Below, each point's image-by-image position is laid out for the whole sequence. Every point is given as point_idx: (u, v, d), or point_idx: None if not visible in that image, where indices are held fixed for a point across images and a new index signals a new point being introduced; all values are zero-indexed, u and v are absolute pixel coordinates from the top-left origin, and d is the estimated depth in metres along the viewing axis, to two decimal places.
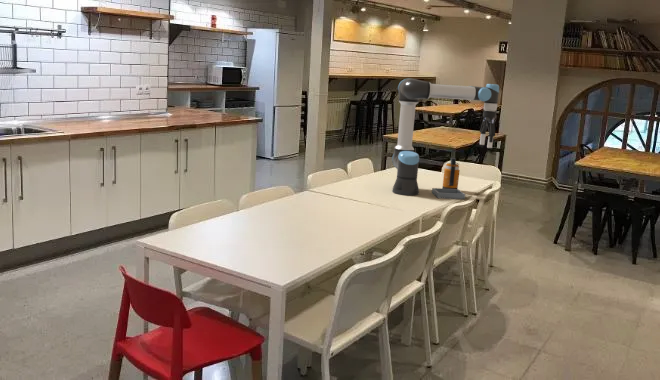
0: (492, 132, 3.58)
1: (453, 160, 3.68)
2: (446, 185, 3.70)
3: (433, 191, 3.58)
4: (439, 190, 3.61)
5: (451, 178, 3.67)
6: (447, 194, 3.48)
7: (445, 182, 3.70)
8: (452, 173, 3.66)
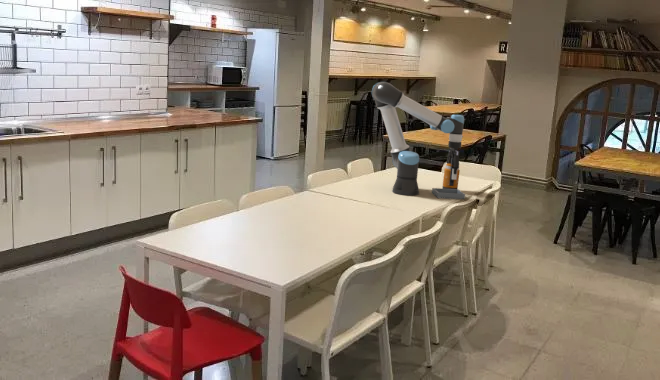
0: (456, 164, 3.61)
1: None
2: (446, 185, 3.70)
3: (433, 191, 3.58)
4: (439, 190, 3.61)
5: (451, 178, 3.67)
6: (447, 194, 3.48)
7: (445, 182, 3.70)
8: None
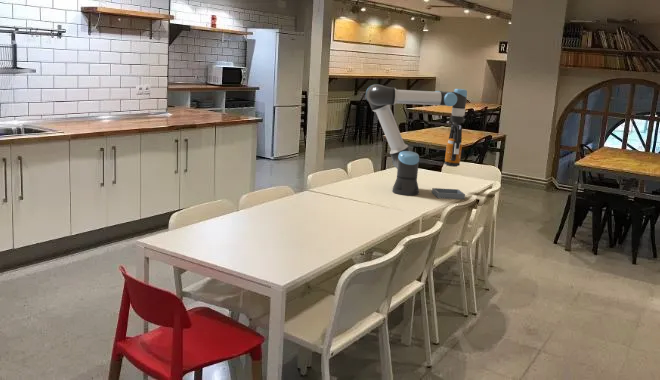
0: (458, 138, 3.58)
1: None
2: (448, 160, 3.66)
3: (433, 191, 3.58)
4: (439, 190, 3.61)
5: (453, 153, 3.64)
6: (447, 194, 3.48)
7: (447, 157, 3.67)
8: None
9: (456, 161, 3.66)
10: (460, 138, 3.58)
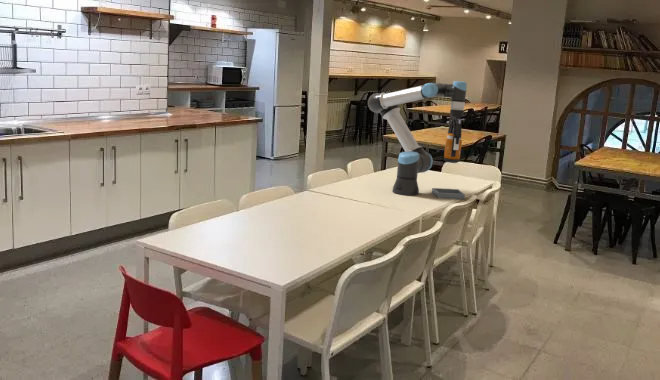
0: (458, 133, 3.40)
1: None
2: (448, 156, 3.49)
3: (433, 191, 3.58)
4: (439, 190, 3.61)
5: None
6: (447, 194, 3.48)
7: (447, 153, 3.49)
8: None
9: (456, 157, 3.48)
10: (460, 133, 3.40)
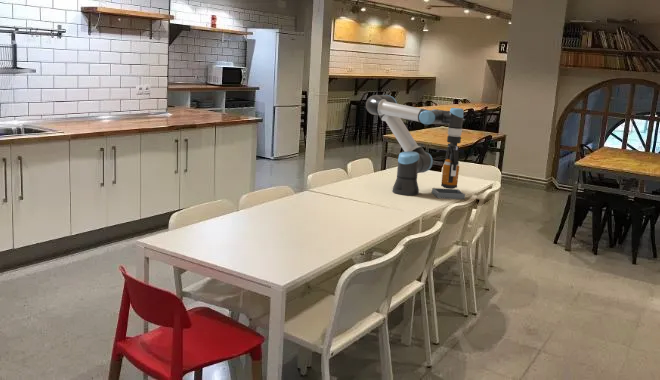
0: (455, 160, 3.43)
1: None
2: (445, 182, 3.51)
3: (433, 191, 3.58)
4: (439, 190, 3.61)
5: (450, 175, 3.49)
6: (447, 194, 3.48)
7: (444, 179, 3.52)
8: None
9: (453, 183, 3.51)
10: (457, 159, 3.43)
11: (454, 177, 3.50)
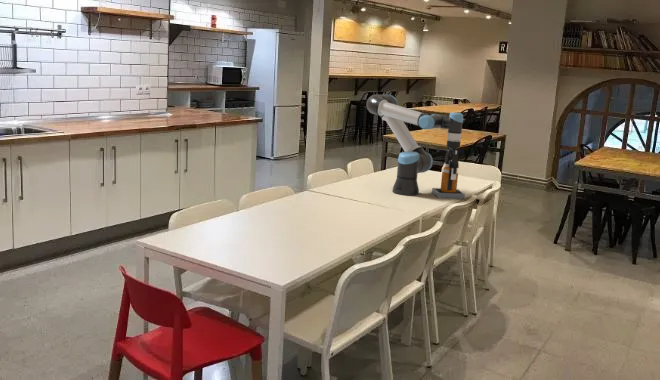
0: (455, 164, 3.42)
1: (451, 163, 3.51)
2: (444, 189, 3.52)
3: (433, 191, 3.58)
4: (439, 190, 3.61)
5: (449, 182, 3.49)
6: (447, 194, 3.48)
7: (443, 187, 3.53)
8: (450, 177, 3.49)
9: (452, 190, 3.51)
10: (457, 163, 3.42)
11: (453, 184, 3.51)
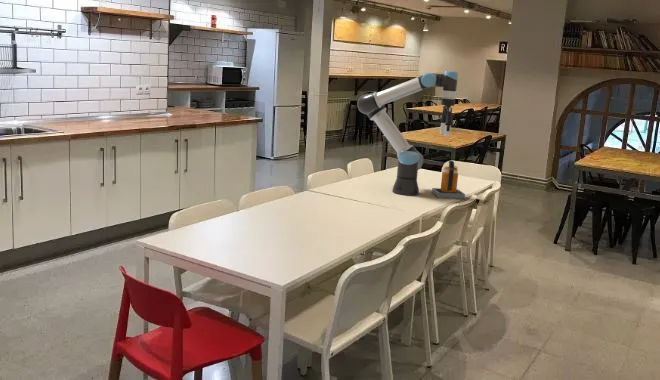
0: (448, 120, 3.47)
1: (451, 163, 3.51)
2: (444, 189, 3.52)
3: (433, 191, 3.58)
4: (439, 190, 3.61)
5: (449, 182, 3.49)
6: (447, 194, 3.48)
7: (443, 187, 3.53)
8: (450, 177, 3.49)
9: (452, 190, 3.51)
10: (450, 120, 3.47)
11: (453, 184, 3.51)
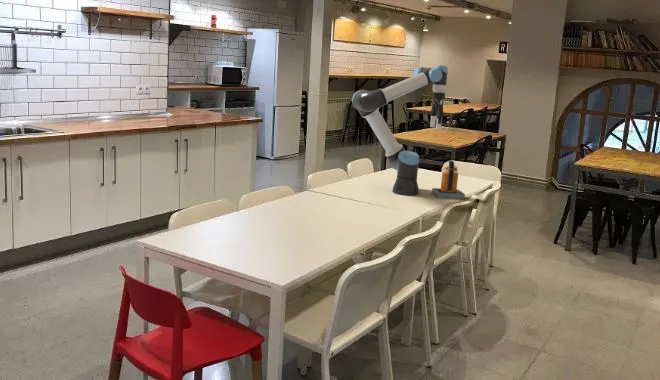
0: (440, 113, 3.56)
1: (451, 163, 3.51)
2: (444, 189, 3.52)
3: (433, 191, 3.58)
4: (439, 190, 3.61)
5: (449, 182, 3.49)
6: (447, 194, 3.48)
7: (443, 187, 3.53)
8: (450, 177, 3.49)
9: (452, 190, 3.51)
10: (442, 113, 3.56)
11: (453, 184, 3.51)
